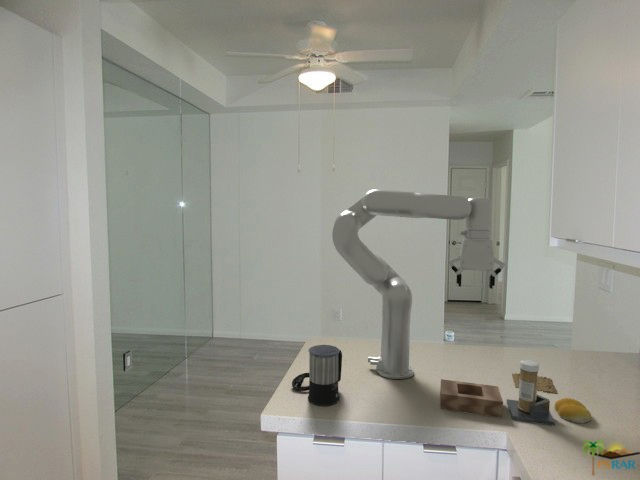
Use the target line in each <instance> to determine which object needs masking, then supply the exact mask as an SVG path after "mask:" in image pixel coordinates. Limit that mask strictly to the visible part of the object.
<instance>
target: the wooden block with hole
mask: <svg viewBox="0 0 640 480" xmlns="http://www.w3.org/2000/svg"><path fill="white" fill-rule="evenodd" d="M439 388H440V392H439V395H440V397H439V399H440V400H439V401H440V402H439V403H440V405H439V406H440V407H439V408H440V410H443V411H451V412H458V413H465V414H472V415H478V416H485V417H486V416H487V417H493V418H498V417H499V419H502V418H503V414H504V413H503V410H504V401H503V397H502V394H501V392H500V391H501V390H500V388H499V386H497V385H489V384H483V383H482V384H480V383H473V382H465V381H459V380H450V379H442V378H441V379H440V387H439Z"/></svg>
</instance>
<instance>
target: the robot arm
mask: <svg viewBox="0 0 640 480" xmlns="http://www.w3.org/2000/svg"><path fill="white" fill-rule="evenodd" d="M377 216H381V217H382V216H384V217H397V218H398V217H399V218H409V219H410V218H411V219H424V218H425V219H438V220H439V219H440V220H453V221H454V220H455V221H462V220H465V230H463V231H461V230H460V236H463V237H464V238H462V242H461V247H460V253H459V255H458V256H456V257H453V258H450V259H449V260H448V264H449V266H450V267H451V270H453V271H454V272H455V274H456V285H457V284H458V287H462V278H463V277H462V275H463V274H462V272H463V271H465V270H466V271H478V272H479V271H480V272H482V271H483V272H489V273H490V275H489V281H488V282H489V283H488V287H489V289H491V290H493V288H494V287H495V286H496V285H495V283H496V276H497V275H498V274H500V273H501V272H502V270H503V269H504V267H505V265H506V264H505V262H503V261H502V260H500V259H497V258H496V257H494V243H493V240H492V239H490V238H491V219H492V200H491V199H490V198H488V197H478V196H477V197H469V198H467V197H464V196H461V195H450V194H448V195H446V194H434V193H424V192H416V191H415V192H414V191H400V190H390V189H389V190H387V189H371V190H368V191H367V192H366V193H365V194H364V195H363V196H362V197H360V198H359V199H358V200H357V201H355V202H354V203H353V204H351V205H350V206H349V207H348V208H347V209H345V210H344V211H342V212H340V213H339V214H338V215H337V217H336V219H335V220H334V224H333V228H332V232H331V233H332V234H331V235H332V236H331V237H332V243H333V246H334V247H335V250H336V252H337V253H338V254H339V256H340V257H341V258H342V259H343V260H344V261H345V262H346V263H347V264H348V265H349V266H350V267H351V268H352V270H354V271H355V273H357V274H358V275H359V276H360V278H361V279H362V281H364V282H365V283H366V284H367V285H370V286H372V287H373V288H374V289H375V290H376V292H378V294H380V295H381V296H382V308H381V334H380V335H381V336H380V337H381V340H380V341H381V344H380V345H381V347H380V348H381V349H380V356H377V357H374V356H368V358H367V363H370V365H372V366H375V370H376V373H377V374H378V375H380V376H381V377H382V378H383V377H384V378H386V379H392V380H405V379H409V378H412V377H413V375H414V368H413V367H412V366H410V347H411V346H410V343H411V342H410V340H411V313H412V305H413V295H412V290H411V289H410V286H409V285H408V284H407V282H406V281H405V280H404V279H403V278H402V276H401V275H399V274H398V273H397V272H396V270H395V269H393V268H392V267H391V266H390V265H389V264H388V263H387V262H386V261H385V260H384V259H383V258H382V257H381V256H379V255H376V254H374V253H373V252H372V250H371V249H369V247H368V246H367V245H366V244H365V243H364V242H363V241H362V240H361V239H360V237H359V230H360V229H361V228H363V227H364V226H366V225H367V224H368V223H369V222H371V221H372V220H373V219H375V218H376V217H377ZM458 261H459V267H456V266H455V263H457V262H458ZM494 263H495V264H497V265H498V267H497V268H496V269H494ZM493 269H494V270H493Z"/></svg>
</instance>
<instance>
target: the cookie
mask: <svg viewBox="0 0 640 480" xmlns="http://www.w3.org/2000/svg"><path fill="white" fill-rule="evenodd" d="M511 376H512V380H513V384H514V383H515V384H514V388H515V389H519V382H520V373H516V372H515V373H511ZM539 391H543V392H542V393H546V392H547V394H554V395H558V390H557V388H556V386H555V385H554V382H553V380H552V378H550V377H547V376H539V375H537V392H539Z"/></svg>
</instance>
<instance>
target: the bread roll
mask: <svg viewBox="0 0 640 480" xmlns="http://www.w3.org/2000/svg"><path fill="white" fill-rule="evenodd" d="M554 410H555V411H556V413H557V414H558V417H560V418H562V419H564V420H567V421H569V422H572V423H577V424H585V423H588V422H590V421H591V419H592V413H591V412H590V410H588V409H587V407H586V406H585V405H584V404H583V403H582V402H580V401H579V400H576V399H575V398H569V397H567V398H566V397H563V398H561V399H559V400H556V401H555V403H554Z"/></svg>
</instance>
